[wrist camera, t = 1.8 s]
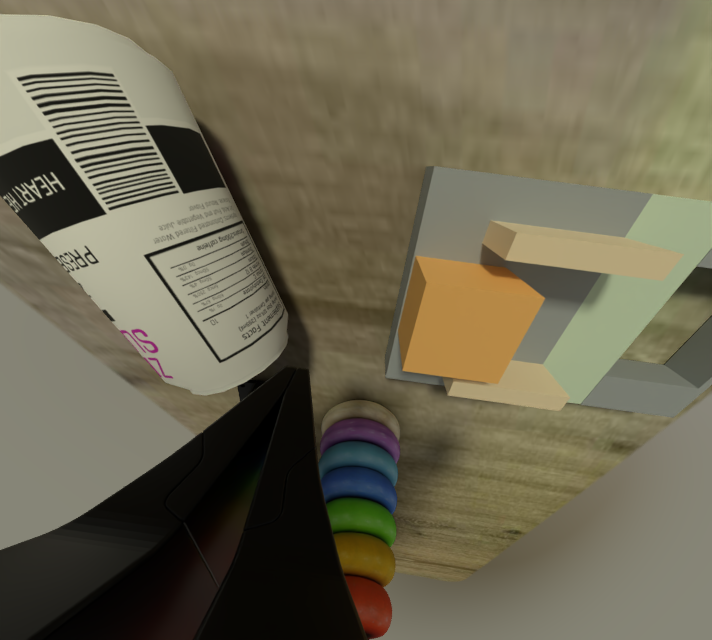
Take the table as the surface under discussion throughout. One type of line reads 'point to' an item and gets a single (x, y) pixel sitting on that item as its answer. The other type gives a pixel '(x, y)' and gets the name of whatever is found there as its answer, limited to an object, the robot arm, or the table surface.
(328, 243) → the table surface
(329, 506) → the stacking toy
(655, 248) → the tunnel board
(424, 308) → the block
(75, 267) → the supplement can
